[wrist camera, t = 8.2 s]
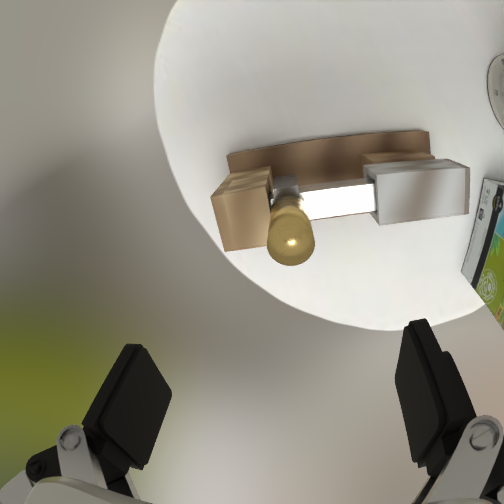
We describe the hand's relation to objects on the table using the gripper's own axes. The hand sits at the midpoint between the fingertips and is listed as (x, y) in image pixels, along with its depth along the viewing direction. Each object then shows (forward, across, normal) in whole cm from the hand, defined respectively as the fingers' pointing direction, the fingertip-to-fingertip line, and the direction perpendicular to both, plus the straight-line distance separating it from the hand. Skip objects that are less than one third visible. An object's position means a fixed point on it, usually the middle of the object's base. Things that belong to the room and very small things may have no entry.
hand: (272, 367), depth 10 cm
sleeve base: (+27, -6, 0) cm, 27 cm away
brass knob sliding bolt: (+20, -4, 0) cm, 21 cm away
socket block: (+25, +3, 0) cm, 25 cm away
